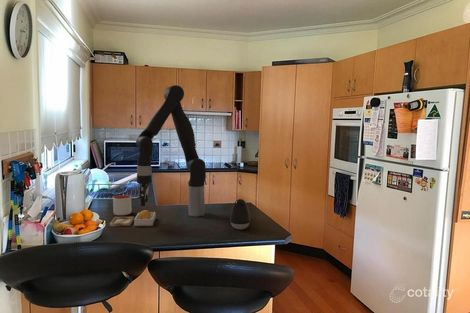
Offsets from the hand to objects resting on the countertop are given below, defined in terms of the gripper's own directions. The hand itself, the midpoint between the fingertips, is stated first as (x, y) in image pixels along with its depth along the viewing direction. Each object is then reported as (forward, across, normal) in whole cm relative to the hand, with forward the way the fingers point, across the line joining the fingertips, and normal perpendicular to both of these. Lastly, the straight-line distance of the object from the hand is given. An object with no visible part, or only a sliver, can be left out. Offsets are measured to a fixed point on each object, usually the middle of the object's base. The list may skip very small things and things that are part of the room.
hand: (144, 203), depth 177 cm
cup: (+10, +18, +15) cm, 26 cm away
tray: (+10, 0, +12) cm, 15 cm away
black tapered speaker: (+9, -15, -50) cm, 53 cm away
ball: (+6, 0, 0) cm, 7 cm away
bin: (+10, 0, 0) cm, 10 cm away
